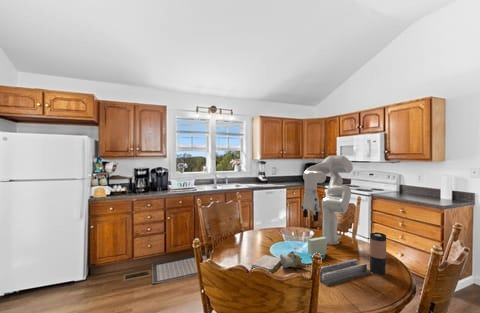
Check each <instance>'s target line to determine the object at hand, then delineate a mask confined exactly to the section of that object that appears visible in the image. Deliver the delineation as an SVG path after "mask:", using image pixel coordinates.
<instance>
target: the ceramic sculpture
mask: <svg viewBox="0 0 480 313" xmlns="http://www.w3.org/2000/svg"><path fill="white" fill-rule="evenodd" d="M279 258H280V261H281V265H282V267H283V268H284V269H287V268H289V267H291V268H298V269H306V268H308V267H310V265H308V264H306V263H304V262H302V260H303V258H302V257H301V256H300V255H299V253H295V252H294V251H290V252H289V253H287V254H285V255H284V254H280V255H279Z"/></svg>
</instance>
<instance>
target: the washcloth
mask: <svg viewBox="0 0 480 313" xmlns="http://www.w3.org/2000/svg"><path fill="white" fill-rule="evenodd" d="M280 265H282V263H281V261H280V257H276V256H271V255H266V254H264V255H262V257H259V258H258V259H257V260H256V261H255V262H254V261H253V263H251V265H250V266H251V269H253V268H263V269H265V270H267V271H269V272H271V273H274V272H275V270H276V269H277V268H279V266H280ZM271 273H270V274H271Z"/></svg>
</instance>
